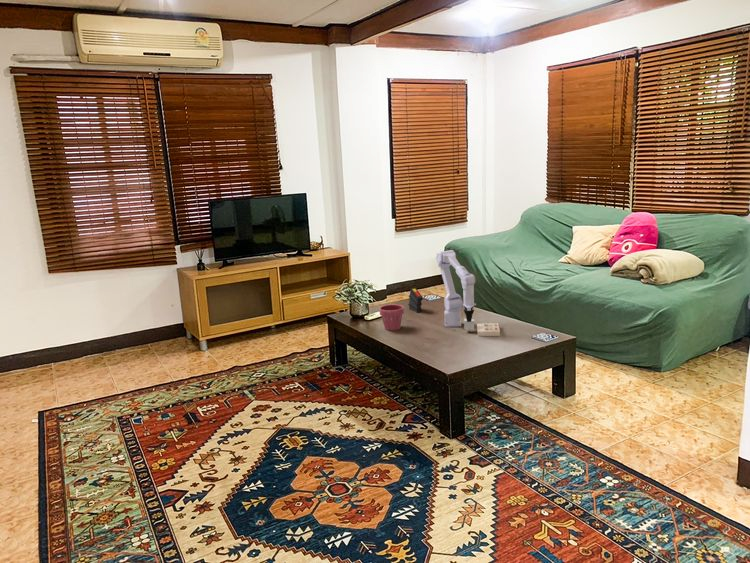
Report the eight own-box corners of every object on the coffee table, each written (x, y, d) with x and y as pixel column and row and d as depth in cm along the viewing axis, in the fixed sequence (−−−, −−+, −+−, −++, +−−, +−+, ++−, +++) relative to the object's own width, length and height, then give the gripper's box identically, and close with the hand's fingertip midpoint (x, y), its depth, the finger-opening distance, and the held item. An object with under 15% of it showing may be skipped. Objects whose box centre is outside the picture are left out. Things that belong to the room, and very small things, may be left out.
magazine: (411, 304, 375) (415, 286, 367) (420, 317, 366) (424, 299, 357) (406, 305, 374) (410, 287, 365) (415, 318, 365) (419, 299, 356)
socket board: (477, 335, 312) (477, 330, 311) (477, 327, 326) (476, 322, 326) (499, 335, 310) (499, 330, 309) (498, 327, 324) (498, 322, 324)
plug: (464, 332, 318) (464, 320, 316) (464, 330, 322) (464, 318, 321) (474, 332, 317) (474, 320, 316) (474, 330, 321) (473, 318, 320)
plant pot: (384, 324, 342) (382, 303, 339) (406, 324, 338) (405, 304, 335) (377, 331, 329) (376, 310, 326) (401, 332, 325) (400, 311, 322)
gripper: (476, 299, 307) (476, 323, 310) (475, 292, 321) (476, 315, 324) (463, 299, 309) (463, 323, 312) (463, 293, 322) (463, 316, 325)
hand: (469, 319), depth 318 cm, fingers open, 7 cm apart
